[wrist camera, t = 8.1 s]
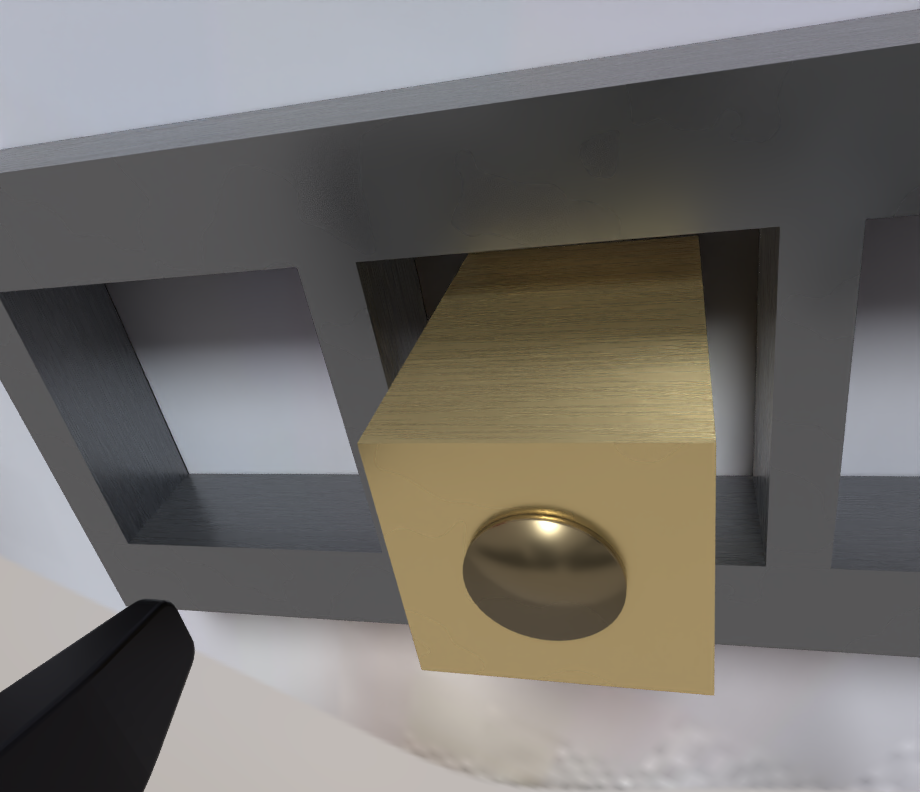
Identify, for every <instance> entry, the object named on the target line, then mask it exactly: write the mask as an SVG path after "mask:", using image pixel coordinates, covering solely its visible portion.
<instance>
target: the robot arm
mask: <svg viewBox="0 0 920 792" xmlns="http://www.w3.org/2000/svg"><path fill="white" fill-rule="evenodd" d="M194 654H195V648H194V642H193V640H192V638H191V636H190V634H189V632H188V630H187V628H186V626H185V624H184V622H183V620H182V618H181V616H180V614H179V612H178V610H177V608H176V607H175V605H174V604H173V603H171V602H170V601H168V600H158V599H142V600H138V601H136V602H134V603H133V604H131V605H130V606H128V607H127V608H125V609H124V610H122V611H121V612H119V613H118V614H116V615H115V616H113V617H112V618H110V619H109V620H107V621H106V622H104V623H103V624H101V625H100V626H98V627H97V628H96V629H94V630H93V631H91V632H90V633H88V634H87V635H85V636H84V637H82V638H81V639H79V640H78V641H76V642H75V643H73V644H72V645H70V646H69V647H67V648H66V649H64V650H63V651H61V652H60V653H58V654H57V655H55V656H54V657H52V658H51V659H49V660H48V661H46V662H45V663H43V664H42V665H40V666H39V667H37V668H36V669H34V670H33V671H31V672H30V673H28V674H27V675H25V676H24V677H22V678H21V679H19V680H18V681H16V682H15V683H14V684H12V685H10V686H9V687H8V688H6V689H5V690H3V691H2V692H0V792H144V789H145V787H146V785H147V783H148V780H149V778H150V776H151V773H152V771H153V768H154V766H155V763H156V761H157V758H158V756H159V753H160V750H161V747H162V745H163V742H164V739H165V737H166V734H167V731H168V729H169V726H170V723H171V720H172V718H173V715H174V712H175V710H176V707H177V704H178V701H179V698H180V696H181V693H182V690H183V688H184V685H185V682H186V680H187V677H188V674H189V671H190V669H191V666H192V663H193V660H194Z"/></svg>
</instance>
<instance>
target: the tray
mask: <svg viewBox="0 0 920 792" xmlns="http://www.w3.org/2000/svg"><path fill="white" fill-rule="evenodd" d="M911 215H920V9H917V10H911V11H904V12H898V13H891V14H885V15H878V16H871V17H865V18H858V19H852V20H845V21H839V22H832V23H826V24H819V25H813V26H806V27H800V28H793V29H787V30H780V31H773V32H767V33H760V34H754V35H747V36H741V37H734V38H728V39H721V40H715V41H708V42H702V43H695V44H688V45H682V46H675V47H669V48H662V49H656V50H649V51H643V52H636V53H630V54H623V55H617V56H610V57H603V58H597V59H590V60H584V61H577V62H571V63H564V64H558V65H551V66H545V67H538V68H532V69H525V70H518V71H512V72H505V73H499V74H492V75H486V76H479V77H473V78H466V79H460V80H453V81H447V82H440V83H434V84H427V85H420V86H414V87H407V88H401V89H394V90H388V91H381V92H375V93H368V94H362V95H355V96H349V97H342V98H335V99H329V100H322V101H316V102H309V103H303V104H296V105H290V106H283V107H277V108H270V109H264V110H257V111H250V112H244V113H237V114H231V115H224V116H218V117H211V118H205V119H198V120H192V121H185V122H179V123H172V124H166V125H159V126H152V127H146V128H139V129H133V130H126V131H120V132H113V133H107V134H100V135H94V136H87V137H81V138H74V139H67V140H61V141H54V142H48V143H41V144H35V145H28V146H22V147H15V148H9V149H2V150H0V380H1V382H2V384H3V385H4V387H5V389H6V391H7V393H8V394H9V396H10V398H11V400H12V402H13V403H14V405H15V407H16V409H17V411H18V412H19V414H20V416H21V418H22V420H23V421H24V423H25V425H26V427H27V429H28V430H29V432H30V434H31V436H32V438H33V439H34V441H35V443H36V445H37V447H38V448H39V450H40V452H41V454H42V456H43V457H44V459H45V461H46V463H47V465H48V466H49V468H50V470H51V472H52V474H53V475H54V477H55V479H56V481H57V483H58V484H59V486H60V488H61V490H62V492H63V493H64V495H65V497H66V499H67V501H68V502H69V504H70V506H71V508H72V510H73V511H74V513H75V515H76V517H77V519H78V520H79V522H80V524H81V526H82V528H83V529H84V531H85V533H86V535H87V537H88V538H89V540H90V542H91V544H92V546H93V547H94V549H95V551H96V553H97V555H98V556H99V558H100V560H101V562H102V564H103V565H104V567H105V569H106V571H107V573H108V574H109V576H110V578H111V580H112V582H113V583H114V585H115V587H116V589H117V591H118V592H119V594H120V596H121V598H122V600H123V601H124V603H125V605H126V606H130V605H131V604H133V603H134V602H136V601H138V600H142V599H158V600H168V601H170V602H171V603H173V604H174V605H175V607H176V608H177V610H192V611H208V612H223V613H239V614H254V615H270V616H286V617H301V618H317V619H332V620H348V621H364V622H379V623H395V624H409V623H408V620H407V616H406V613H405V609H404V606H403V602H402V599H401V595H400V592H399V588H398V585H397V581H396V578H395V574H394V571H393V567H392V564H391V560H390V557H389V553H388V550H387V546H386V543H385V539H384V536H383V532H382V529H381V525H380V522H379V518H378V515H377V511H376V508H375V504H374V501H373V497H372V494H371V490H370V487H369V483H368V480H367V476H366V473H365V469H364V466H363V462H362V459H361V455H360V452H359V448H358V445H357V443H358V441H359V439H360V438H361V436H362V434H363V433H364V431H365V429H366V427H367V426H368V424H369V422H370V421H371V419H372V417H373V416H374V414H375V412H376V410H377V409H378V407H379V405H380V404H381V402H382V400H383V398H384V397H385V395H386V393H387V392H388V390H389V388H390V387H391V385H392V383H393V381H394V380H395V378H396V376H397V375H398V373H399V371H400V369H401V368H402V366H403V364H404V363H405V361H406V359H407V358H408V356H409V354H410V352H411V351H412V349H413V347H414V346H415V344H416V342H417V340H418V339H419V337H420V335H421V334H422V332H423V330H424V328H425V327H426V325H427V323H428V321H427V317H426V312H425V308H424V303H423V298H422V294H421V289H420V284H419V280H418V275H417V270H416V266H415V261H414V257H423V256H435V255H447V254H459V253H471V252H483V251H495V250H507V249H519V248H531V247H542V246H554V245H566V244H578V243H590V242H602V241H614V240H626V239H638V238H649V237H661V236H673V235H685V234H697V233H709V232H721V231H733V230H745V229H757V228H760V237H759V273H758V310H757V346H756V383H755V419H754V456H753V476H716V515H715V644H722V645H738V646H753V647H769V648H784V649H800V650H816V651H831V652H847V653H862V654H878V655H893V656H909V657H920V477H892V476H840V472H841V462H842V452H843V442H844V432H845V422H846V412H847V402H848V392H849V382H850V372H851V362H852V352H853V342H854V332H855V322H856V312H857V302H858V292H859V282H860V272H861V262H862V252H863V242H864V232H865V222H866V219H875V218H887V217H899V216H911ZM293 267H297V270H298V273H299V276H300V280H301V283H302V286H303V290H304V293H305V296H306V300H307V303H308V306H309V310H310V313H311V316H312V320H313V323H314V326H315V330H316V333H317V336H318V339H319V343H320V346H321V349H322V353H323V356H324V359H325V363H326V366H327V369H328V373H329V376H330V379H331V383H332V386H333V389H334V393H335V396H336V399H337V403H338V406H339V409H340V413H341V416H342V419H343V423H344V426H345V429H346V433H347V436H348V439H349V443H350V446H351V449H352V453H353V456H354V459H355V463H356V466H357V469H358V473H359V475H345V474H188V473H187V470H186V468H185V466H184V464H183V461H182V459H181V457H180V455H179V452H178V450H177V448H176V446H175V443H174V441H173V439H172V437H171V434H170V432H169V430H168V428H167V425H166V423H165V421H164V418H163V416H162V414H161V412H160V409H159V407H158V405H157V403H156V400H155V398H154V396H153V394H152V391H151V389H150V387H149V385H148V382H147V380H146V378H145V376H144V373H143V371H142V369H141V367H140V364H139V362H138V360H137V358H136V355H135V353H134V351H133V348H132V346H131V344H130V342H129V339H128V337H127V335H126V333H125V330H124V328H123V326H122V324H121V321H120V319H119V317H118V315H117V312H116V310H115V308H114V306H113V303H112V301H111V299H110V297H109V294H108V292H107V290H106V288H105V285H104V283H114V282H126V281H138V280H150V279H162V278H174V277H186V276H197V275H209V274H221V273H233V272H245V271H257V270H269V269H281V268H293Z"/></svg>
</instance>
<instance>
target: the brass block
mask: <svg viewBox="0 0 920 792" xmlns="http://www.w3.org/2000/svg"><path fill="white" fill-rule="evenodd" d="M357 445H358V448H359V452H360V455H361V459H362V462H363V466H364V469H365V473H366V476H367V480H368V483H369V487H370V490H371V494H372V497H373V501H374V504H375V508H376V511H377V515H378V518H379V522H380V525H381V529H382V532H383V536H384V539H385V543H386V546H387V550H388V553H389V557H390V560H391V564H392V567H393V571H394V574H395V578H396V581H397V585H398V588H399V592H400V595H401V599H402V602H403V606H404V609H405V613H406V616H407V620H408V623H409V627H410V630H411V634H412V637H413V641H414V644H415V648H416V651H417V655H418V658H419V662H420V665H421V669H422V670H428V671H440V672H451V673H463V674H474V675H486V676H497V677H508V678H520V679H531V680H543V681H554V682H566V683H577V684H589V685H600V686H611V687H623V688H634V689H646V690H657V691H669V692H680V693H691V694H703V695H714V646H715V515H716V436H715V424H714V413H713V401H712V389H711V377H710V365H709V354H708V342H707V330H706V318H705V306H704V295H703V283H702V271H701V259H700V247H699V236H688V237H674V238H661V239H648V240H635V241H621V242H608V243H595V244H582V245H569V246H555V247H542V248H529V249H516V250H502V251H489V252H476V253H468V255H467V257H466V259H465V260H464V262H463V264H462V265H461V267H460V269H459V270H458V272H457V274H456V276H455V277H454V279H453V281H452V282H451V284H450V286H449V288H448V289H447V291H446V293H445V294H444V296H443V298H442V299H441V301H440V303H439V305H438V306H437V308H436V310H435V311H434V313H433V315H432V317H431V318H430V320H429V322H428V323H427V325H426V327H425V328H424V330H423V332H422V334H421V335H420V337H419V339H418V340H417V342H416V344H415V346H414V347H413V349H412V351H411V352H410V354H409V356H408V358H407V359H406V361H405V363H404V364H403V366H402V368H401V369H400V371H399V373H398V375H397V376H396V378H395V380H394V381H393V383H392V385H391V387H390V388H389V390H388V392H387V393H386V395H385V397H384V398H383V400H382V402H381V404H380V405H379V407H378V409H377V410H376V412H375V414H374V416H373V417H372V419H371V421H370V422H369V424H368V426H367V427H366V429H365V431H364V433H363V434H362V436H361V438H360V439H359V441H358V443H357Z"/></svg>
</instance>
